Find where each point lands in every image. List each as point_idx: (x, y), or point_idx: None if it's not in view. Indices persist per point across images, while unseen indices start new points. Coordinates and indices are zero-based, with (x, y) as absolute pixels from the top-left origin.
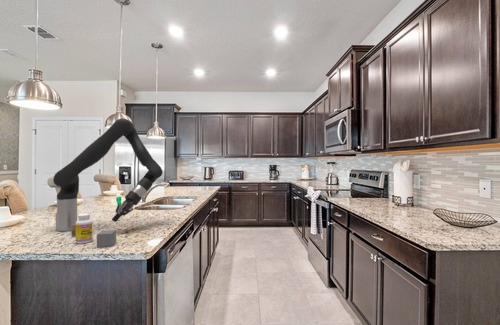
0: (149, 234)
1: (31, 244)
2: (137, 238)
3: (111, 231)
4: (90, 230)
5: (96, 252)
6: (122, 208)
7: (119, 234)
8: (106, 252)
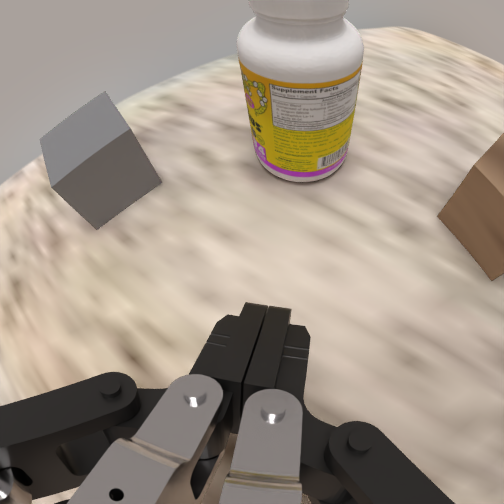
0: None
1: (453, 71)
2: (41, 341)
3: (60, 154)
4: (248, 106)
5: None
6: (99, 461)
7: None
8: None
